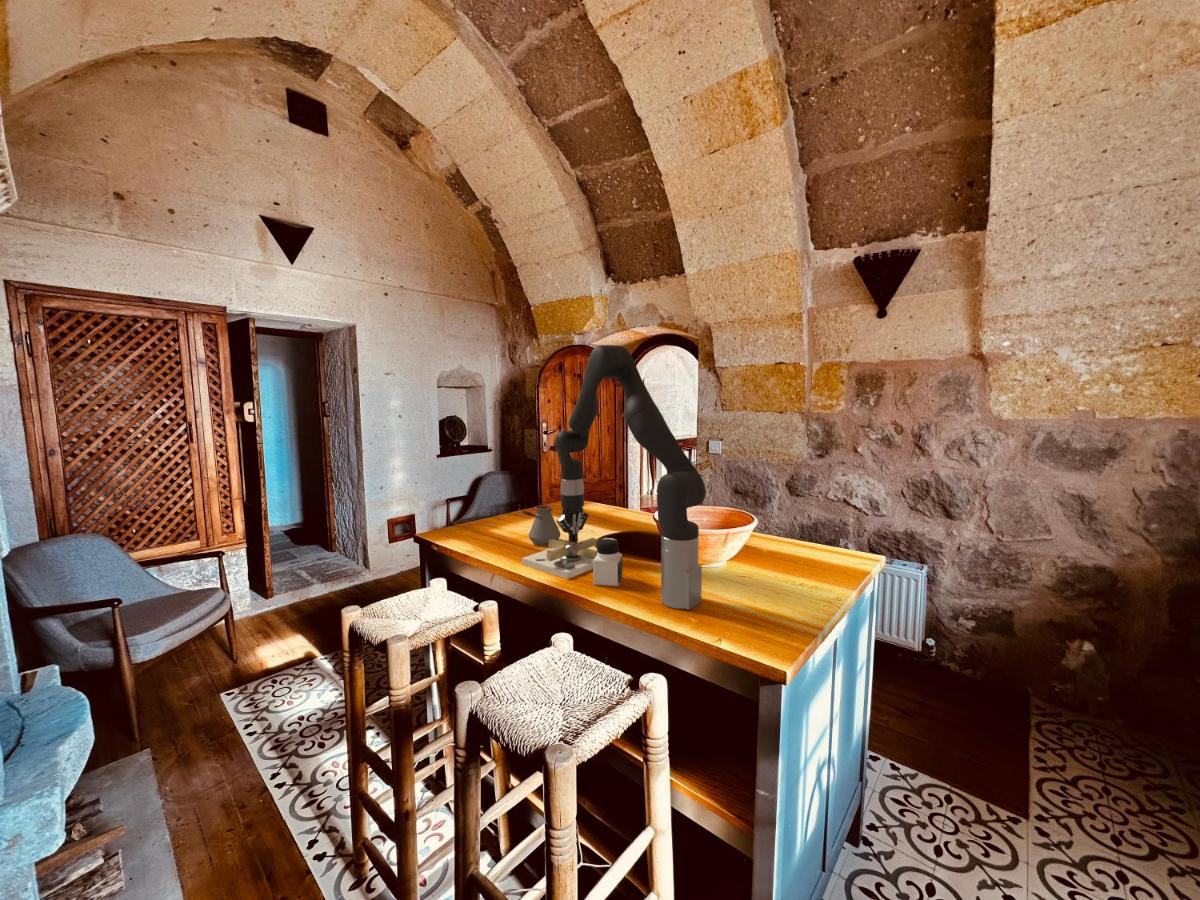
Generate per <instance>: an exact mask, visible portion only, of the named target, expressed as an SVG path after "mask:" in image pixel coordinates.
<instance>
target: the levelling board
mask: <svg viewBox="0 0 1200 900" xmlns="http://www.w3.org/2000/svg"><path fill="white" fill-rule="evenodd" d="M554 550H557V549H555V548H551V547H550V548H549V549H545V550H542V551H539V552H536V553H533V554H530V555H527V556H525V557H524V556H523V557H522V558H521V564H522V565H524V566H526V567H529V568H532V569H534V570H538V571H541V572H544V573H547V574H550V575H554V576H556V577H560V578H561V579H566V580H568V579H571V578H574V577H576V576H578V575H582V574H584V573H586V572H588V571H592V570H593V560H594V559H590V558H587V557H583V556H582V559H581V560H578V561H572V562H568V561H562V560H560V558H559V559H556V560H553V561H548V560H547V553H548V552H551V551H554Z"/></svg>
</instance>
